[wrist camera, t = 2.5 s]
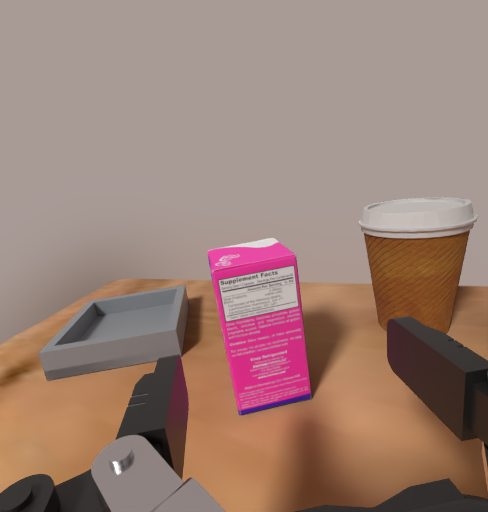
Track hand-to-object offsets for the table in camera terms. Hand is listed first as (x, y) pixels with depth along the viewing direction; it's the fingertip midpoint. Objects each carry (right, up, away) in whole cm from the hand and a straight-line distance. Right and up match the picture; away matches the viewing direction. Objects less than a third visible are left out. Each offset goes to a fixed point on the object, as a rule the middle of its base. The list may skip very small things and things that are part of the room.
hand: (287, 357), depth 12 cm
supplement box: (0, -7, +14) cm, 15 cm away
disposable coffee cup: (+15, -3, +20) cm, 25 cm away
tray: (-15, -6, +25) cm, 30 cm away
